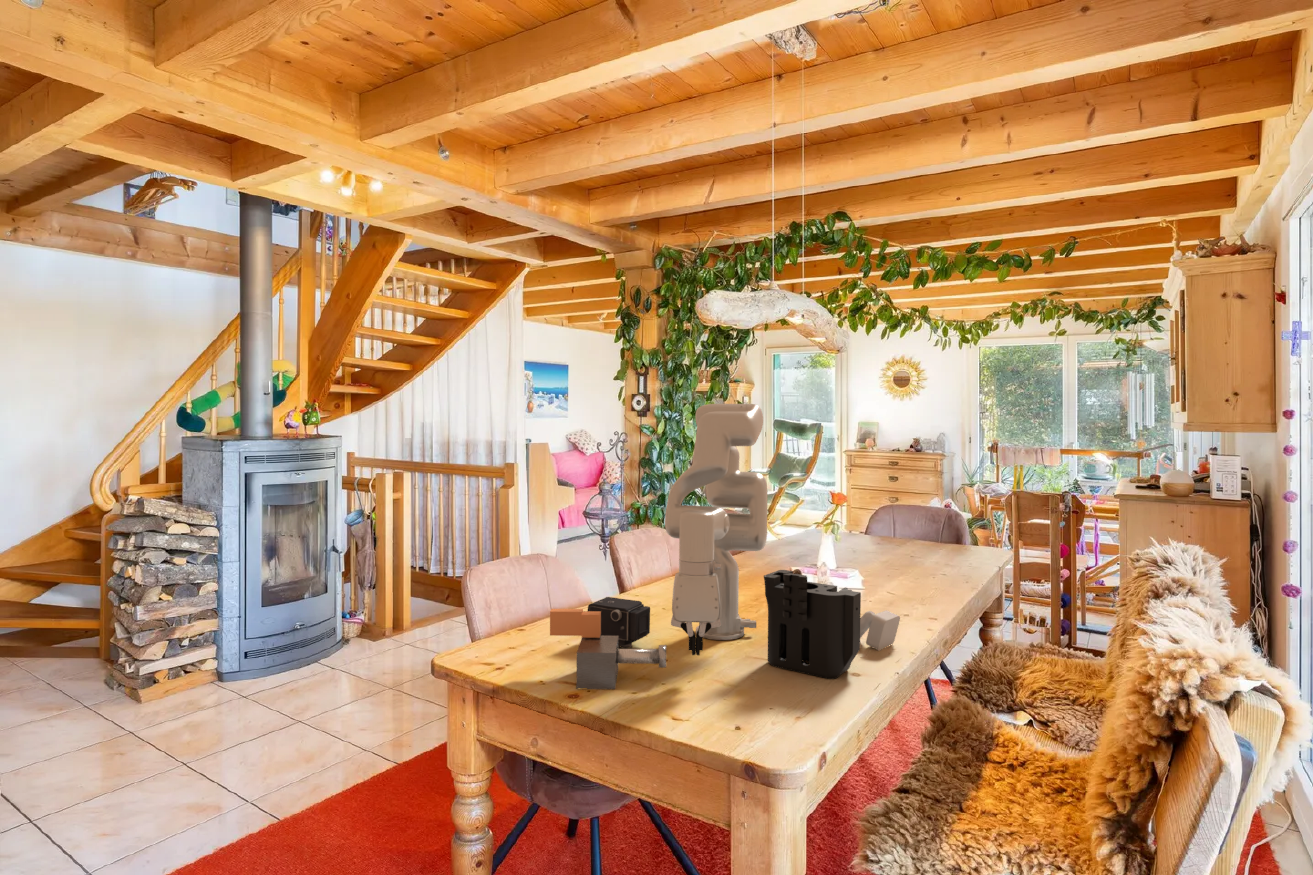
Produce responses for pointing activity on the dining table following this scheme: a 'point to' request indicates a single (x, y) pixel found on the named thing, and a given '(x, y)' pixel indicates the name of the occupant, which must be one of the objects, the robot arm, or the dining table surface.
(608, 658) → the block
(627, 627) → the camera
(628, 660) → the pin
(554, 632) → the plate
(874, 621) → the wall hook
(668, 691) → the dining table surface
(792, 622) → the black machined bracket
